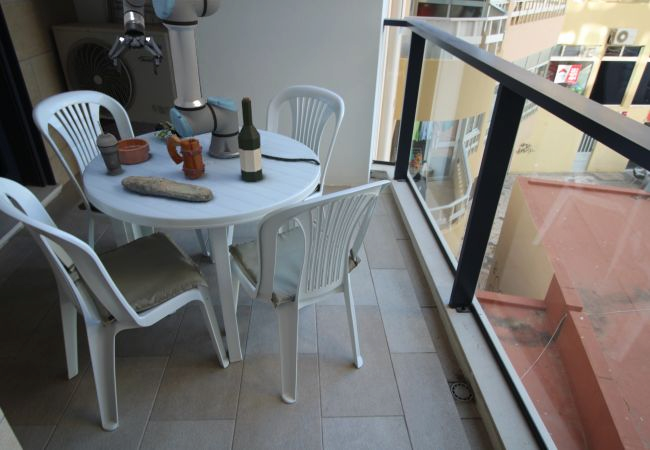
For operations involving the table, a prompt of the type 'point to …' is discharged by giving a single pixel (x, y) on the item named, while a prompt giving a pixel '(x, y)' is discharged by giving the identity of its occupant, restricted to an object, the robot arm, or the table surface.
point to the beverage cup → (109, 152)
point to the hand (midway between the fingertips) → (137, 73)
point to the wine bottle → (249, 146)
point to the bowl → (133, 150)
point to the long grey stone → (166, 188)
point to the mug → (187, 155)
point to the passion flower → (167, 127)
